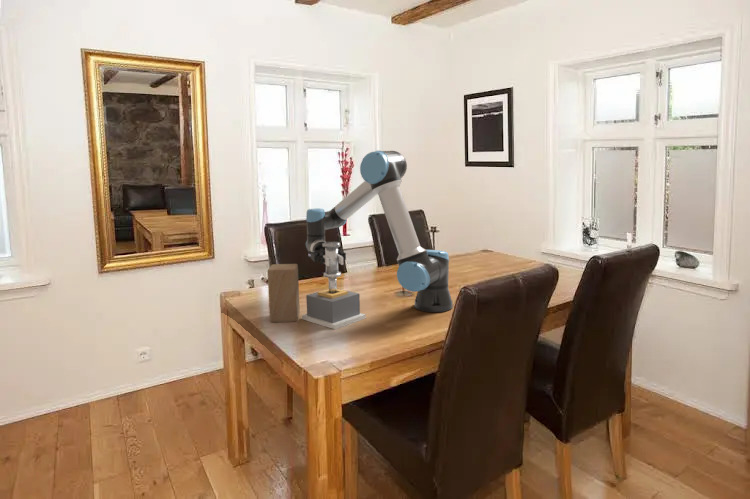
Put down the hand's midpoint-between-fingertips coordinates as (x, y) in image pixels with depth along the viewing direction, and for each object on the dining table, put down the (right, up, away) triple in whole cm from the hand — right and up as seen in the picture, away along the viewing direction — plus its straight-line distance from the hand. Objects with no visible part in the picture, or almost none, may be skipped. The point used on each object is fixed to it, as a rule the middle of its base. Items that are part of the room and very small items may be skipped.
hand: (335, 261), depth 190 cm
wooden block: (-20, -22, +11) cm, 31 cm away
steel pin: (-1, -13, +8) cm, 15 cm away
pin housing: (-1, -22, +9) cm, 24 cm away
